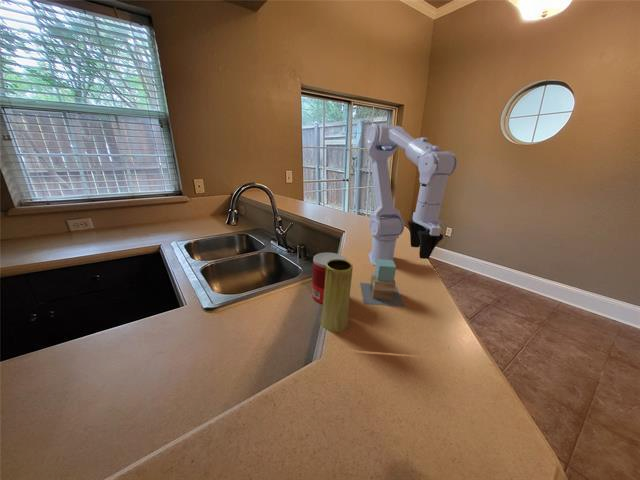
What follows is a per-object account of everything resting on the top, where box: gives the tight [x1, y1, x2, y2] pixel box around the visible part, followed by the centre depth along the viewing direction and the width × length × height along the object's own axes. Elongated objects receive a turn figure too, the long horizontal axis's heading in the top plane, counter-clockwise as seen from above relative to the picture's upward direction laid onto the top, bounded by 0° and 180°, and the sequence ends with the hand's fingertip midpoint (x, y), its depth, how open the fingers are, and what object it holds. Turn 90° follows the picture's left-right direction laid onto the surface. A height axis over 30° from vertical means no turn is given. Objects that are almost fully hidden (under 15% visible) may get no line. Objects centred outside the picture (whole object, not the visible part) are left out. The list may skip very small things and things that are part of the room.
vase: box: [320, 259, 354, 333], centre depth 51 cm, size 6×6×14 cm
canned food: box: [311, 252, 347, 306], centre depth 61 cm, size 8×8×11 cm
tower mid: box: [370, 271, 396, 291], centre depth 64 cm, size 5×5×2 cm
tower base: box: [370, 281, 394, 300], centre depth 65 cm, size 5×5×2 cm
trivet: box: [359, 282, 406, 308], centre depth 65 cm, size 10×10×1 cm
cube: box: [374, 259, 397, 282], centre depth 63 cm, size 4×4×4 cm
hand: (419, 252), depth 67 cm, fingers open, 7 cm apart
